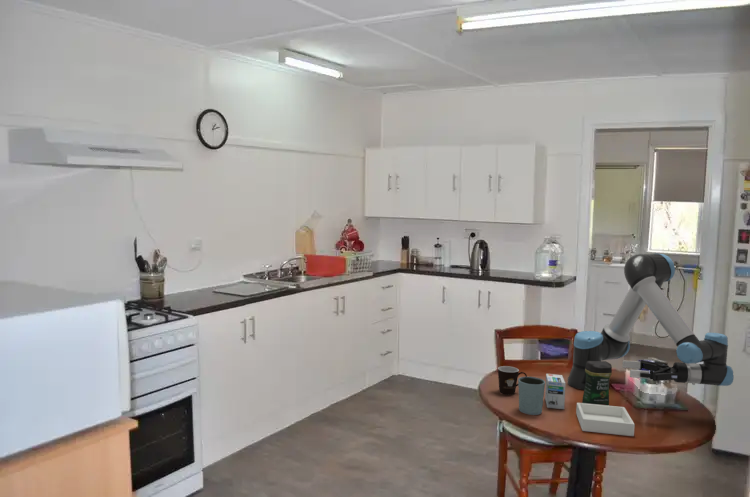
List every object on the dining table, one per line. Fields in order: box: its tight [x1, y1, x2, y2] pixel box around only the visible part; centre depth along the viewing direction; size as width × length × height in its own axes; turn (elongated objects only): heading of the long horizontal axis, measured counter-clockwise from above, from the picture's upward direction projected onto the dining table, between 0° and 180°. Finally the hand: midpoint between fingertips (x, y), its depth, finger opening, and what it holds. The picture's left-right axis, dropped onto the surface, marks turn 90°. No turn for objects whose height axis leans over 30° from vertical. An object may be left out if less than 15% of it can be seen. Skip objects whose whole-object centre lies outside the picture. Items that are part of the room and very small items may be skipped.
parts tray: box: [575, 402, 636, 437], centre depth 211 cm, size 17×17×4 cm
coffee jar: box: [581, 360, 613, 406], centre depth 228 cm, size 10×8×19 cm
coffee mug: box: [497, 365, 528, 396], centre depth 242 cm, size 12×9×10 cm
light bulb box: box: [544, 373, 566, 410], centre depth 231 cm, size 11×7×11 cm, turn 168°
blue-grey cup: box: [517, 376, 546, 416], centre depth 223 cm, size 10×10×12 cm
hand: (626, 368), depth 224 cm, fingers open, 13 cm apart
